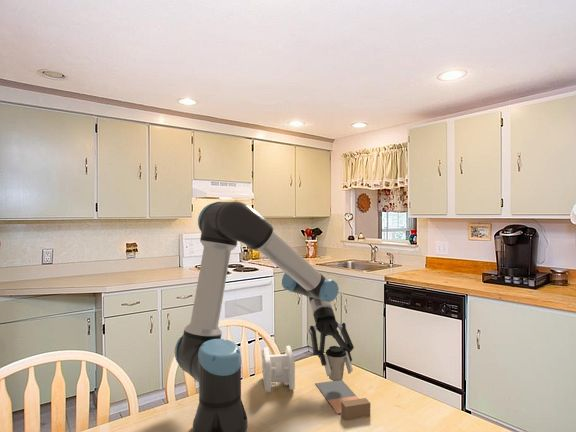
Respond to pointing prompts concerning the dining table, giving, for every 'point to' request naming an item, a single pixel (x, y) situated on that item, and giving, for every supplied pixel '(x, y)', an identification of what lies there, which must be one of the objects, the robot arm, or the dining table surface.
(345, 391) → the runner
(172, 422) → the dining table surface
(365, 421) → the dining table surface
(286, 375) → the cable organizer
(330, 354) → the coffee cup
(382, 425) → the dining table surface
